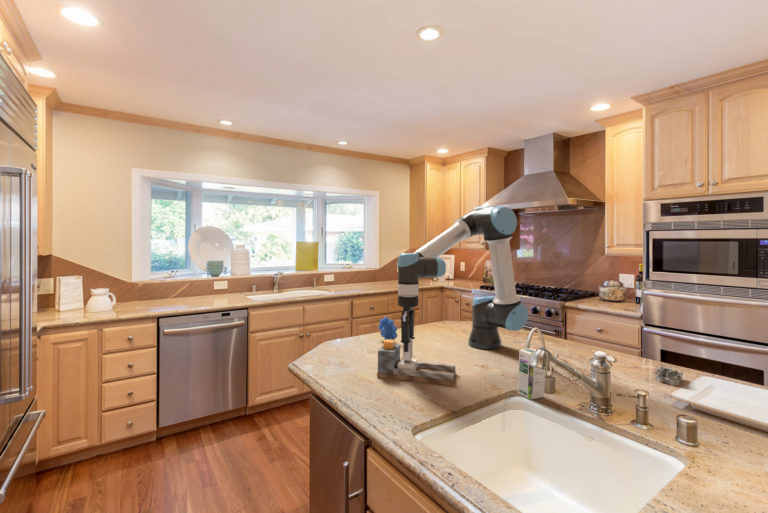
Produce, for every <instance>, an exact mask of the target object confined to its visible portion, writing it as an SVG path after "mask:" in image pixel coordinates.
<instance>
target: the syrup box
mask: <svg viewBox="0 0 768 513" xmlns="http://www.w3.org/2000/svg"><path fill="white" fill-rule="evenodd" d="M536 350H537V349H534V348H531V347H529V348H522V349H519V351H518V352H519V353H518V354H519V355H518V380H517V381H518V383H517V384H518V386H517V393H518V394H520V395H521V396H523V397H525V398H526V399H527V400H536V399H540V398H544V389H545V388H544V387H545V369H544V370H543V369H539V368H535V367H532V366H530V364H529V363H530V360H531V358H532V356H533V354H534V353H535V351H536Z"/></svg>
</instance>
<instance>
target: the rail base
mask: <svg viewBox="0 0 768 513" xmlns="http://www.w3.org/2000/svg"><path fill="white" fill-rule="evenodd" d="M400 360H401V344H400V343H398V344H396V343H395V348H394V349H383V345H381V347H380V348H379V349H377V372H376V378H381V379H388V380H389V379H390V380H397V381H398V380H399V381H409V382H416V383H417V382H418V383H425V384H426V383H427V384H435V385H436V384H437V385H446V386H454V381H455V377H456V372H457V371H456V365H453V364H443V363H431V362H423V361H422V362H421V361H417V369H416V370H408V369H398V363H399V361H400Z"/></svg>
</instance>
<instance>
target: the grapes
mask: <svg viewBox="0 0 768 513" xmlns="http://www.w3.org/2000/svg"><path fill="white" fill-rule="evenodd" d="M378 329H379V331H380V336H381V337H382V338H384V341H385V340H386V339H388V340H395V341H396V339H397V338H398V333H397V330H398V327H397V326H396V325H395V324H394V320H393V319H389V318H388V317H387V316H384V317H383V318H380V319H379V325H378Z"/></svg>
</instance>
